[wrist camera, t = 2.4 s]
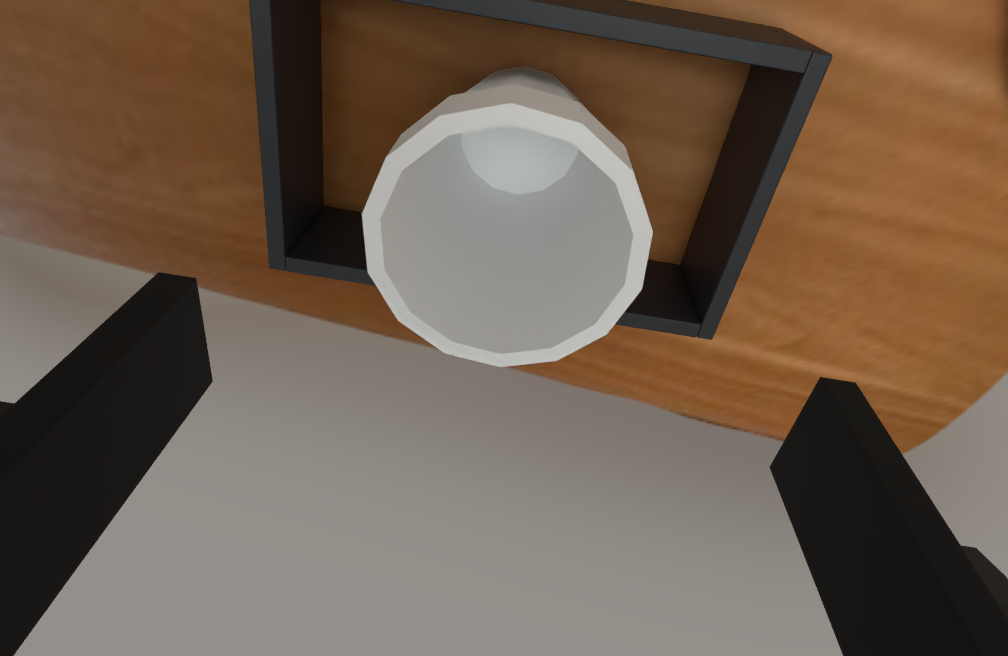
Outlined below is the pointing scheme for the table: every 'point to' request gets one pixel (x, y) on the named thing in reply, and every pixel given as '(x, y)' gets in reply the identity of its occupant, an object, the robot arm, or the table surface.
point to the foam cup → (508, 223)
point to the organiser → (574, 8)
